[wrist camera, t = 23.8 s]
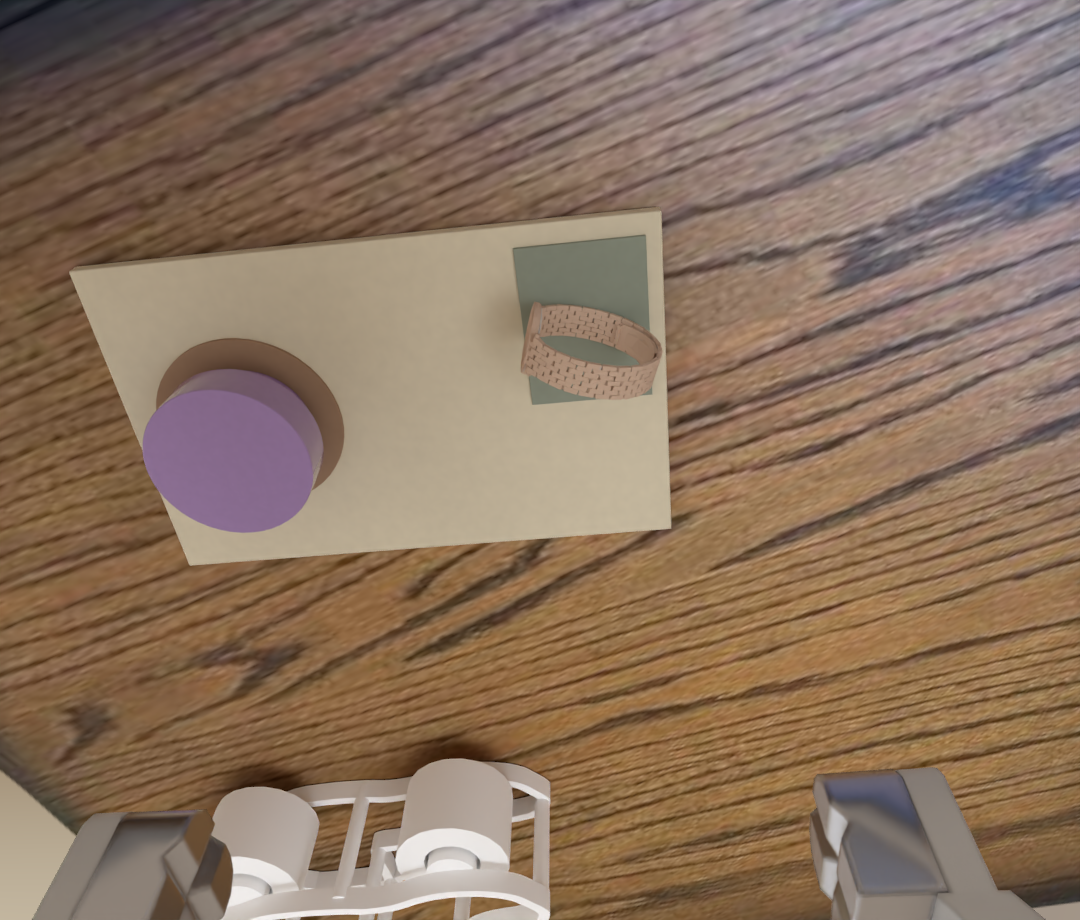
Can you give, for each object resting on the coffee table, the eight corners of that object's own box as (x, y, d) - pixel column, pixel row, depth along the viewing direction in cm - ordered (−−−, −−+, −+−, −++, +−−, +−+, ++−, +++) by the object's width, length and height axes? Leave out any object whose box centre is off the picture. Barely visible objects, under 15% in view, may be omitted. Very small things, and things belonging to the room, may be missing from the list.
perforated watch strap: (535, 279, 31) (531, 332, 27) (660, 304, 31) (677, 361, 27) (521, 344, 32) (516, 405, 28) (641, 368, 33) (654, 431, 29)
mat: (75, 266, 32) (65, 272, 31) (659, 205, 30) (662, 211, 30) (193, 557, 39) (188, 568, 38) (669, 521, 37) (671, 531, 37)
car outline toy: (529, 721, 44) (524, 849, 38) (572, 847, 50) (574, 976, 44) (181, 772, 47) (124, 899, 41) (259, 886, 53) (219, 1013, 46)
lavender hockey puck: (150, 362, 33) (116, 397, 30) (309, 347, 33) (288, 382, 30) (201, 497, 36) (174, 539, 34) (346, 485, 36) (330, 526, 33)
